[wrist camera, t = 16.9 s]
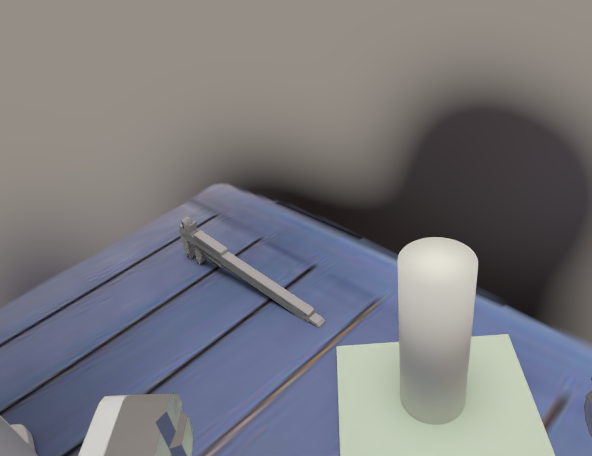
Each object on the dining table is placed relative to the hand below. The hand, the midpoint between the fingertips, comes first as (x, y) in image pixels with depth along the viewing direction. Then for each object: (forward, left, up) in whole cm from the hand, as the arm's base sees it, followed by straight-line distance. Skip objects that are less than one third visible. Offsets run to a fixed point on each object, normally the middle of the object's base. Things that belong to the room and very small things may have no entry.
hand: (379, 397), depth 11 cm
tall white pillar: (+5, +20, -28) cm, 34 cm away
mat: (+5, +20, -28) cm, 35 cm away
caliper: (-12, +36, -29) cm, 48 cm away
